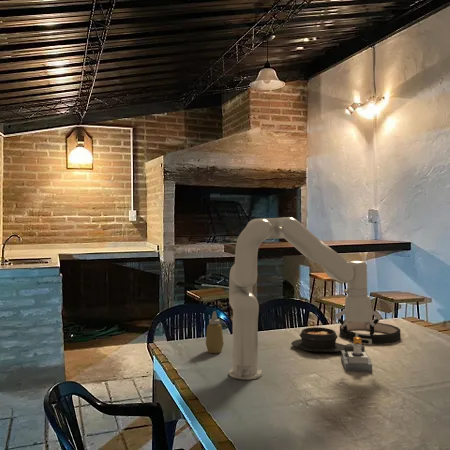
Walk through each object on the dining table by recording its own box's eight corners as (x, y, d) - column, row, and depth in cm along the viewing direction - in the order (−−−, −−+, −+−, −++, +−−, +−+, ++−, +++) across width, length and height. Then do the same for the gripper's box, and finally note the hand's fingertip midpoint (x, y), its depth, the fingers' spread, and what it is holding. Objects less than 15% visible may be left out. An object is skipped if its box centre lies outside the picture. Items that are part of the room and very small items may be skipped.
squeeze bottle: (224, 349, 209) (224, 310, 209) (222, 354, 201) (222, 313, 201) (207, 349, 210) (206, 309, 210) (204, 354, 202) (204, 313, 202)
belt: (332, 340, 224) (332, 330, 223) (346, 327, 250) (346, 318, 250) (396, 348, 210) (396, 337, 210) (404, 333, 236) (403, 323, 236)
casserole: (284, 350, 206) (284, 332, 206) (299, 341, 223) (299, 323, 222) (340, 358, 194) (340, 339, 194) (351, 348, 210) (351, 329, 210)
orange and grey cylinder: (361, 362, 180) (361, 339, 180) (354, 361, 180) (353, 338, 180) (360, 359, 183) (360, 337, 182) (353, 359, 183) (353, 336, 183)
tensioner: (372, 372, 177) (372, 355, 177) (345, 371, 178) (345, 354, 178) (365, 358, 194) (365, 342, 194) (341, 357, 196) (341, 341, 196)
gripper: (335, 294, 179) (336, 338, 179) (382, 293, 176) (383, 338, 176) (334, 291, 186) (335, 333, 186) (378, 290, 183) (379, 333, 184)
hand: (358, 335), depth 181 cm, fingers open, 9 cm apart
